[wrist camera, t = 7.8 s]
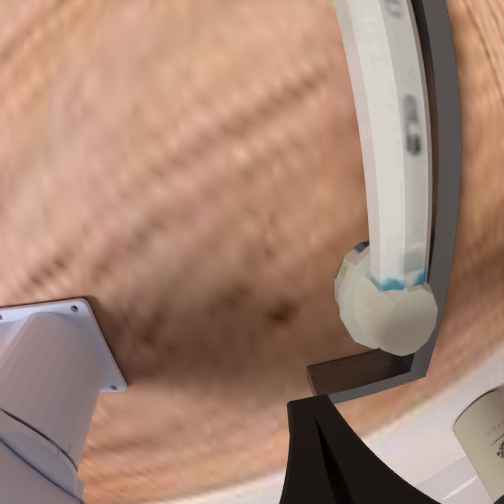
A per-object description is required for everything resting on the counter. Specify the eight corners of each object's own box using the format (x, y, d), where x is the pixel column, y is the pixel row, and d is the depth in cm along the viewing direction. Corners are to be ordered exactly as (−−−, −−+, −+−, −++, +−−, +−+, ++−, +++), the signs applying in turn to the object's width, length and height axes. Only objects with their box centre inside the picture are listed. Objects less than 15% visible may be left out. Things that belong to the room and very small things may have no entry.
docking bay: (307, 377, 22) (317, 407, 20) (254, -93, 9) (261, -120, 7) (408, 351, 23) (425, 376, 20) (390, -77, 10) (412, -95, 7)
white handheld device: (401, -95, 7) (453, 370, 14) (358, -43, 13) (400, 317, 20) (303, -114, 7) (368, 400, 14) (281, -50, 13) (330, 333, 20)
